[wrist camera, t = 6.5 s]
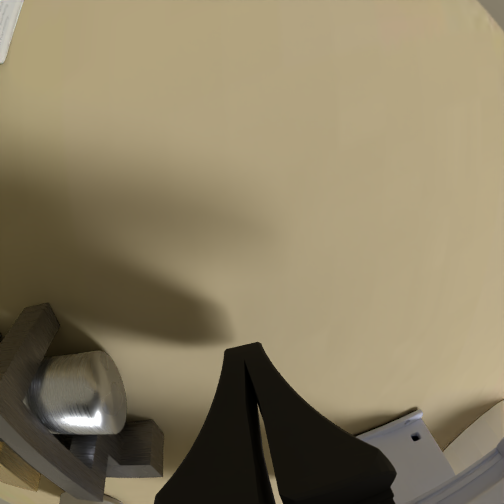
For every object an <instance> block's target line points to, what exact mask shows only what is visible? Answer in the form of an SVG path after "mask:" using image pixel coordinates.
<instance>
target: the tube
mask: <svg viewBox="0 0 504 504" xmlns="http://www.w3.org/2000/svg"><path fill="white" fill-rule="evenodd" d="M23 403H24V404H25V405H26V406H27V408H28V409H29V410H30V411H31V412H32V413H33V414H34V416H35V417H36V418H37V419H38V420H39V421H40V422H41V423H42V424H43V425H44V426H45V427H46V428H47V430H48V431H49V432H50V433H52V434H117V433H119V432H120V431H121V430H122V428H123V427H124V424H125V421H126V415H127V402H126V394H125V389H124V385H123V381H122V378H121V376H120V373H119V371H118V369H117V367H116V365H115V363H114V362H113V360H112V359H111V358H110V356H109V355H108V354H106V353H105V352H103V351H92V352H84V353H77V354H70V355H62V356H53V357H45V358H43V359H42V361H41V363H40V365H39V367H38V369H37V372H36V374H35V376H34V378H33V380H32V382H31V384H30V387H29V389H28V391H27V393H26V396H25V398H24V400H23Z"/></svg>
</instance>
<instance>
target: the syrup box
mask: <svg viewBox="0 0 504 504" xmlns="http://www.w3.org/2000/svg"><path fill="white" fill-rule="evenodd" d="M23 2H24V0H0V64H3V63H4V61H5V60H6V56H7V53H8V49H9V45H10V42H11V39H12V35H13V32H14V29H15V26H16V23H17V20H18V16H19V13H20V10H21V7H22V4H23Z"/></svg>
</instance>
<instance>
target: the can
mask: <svg viewBox="0 0 504 504" xmlns="http://www.w3.org/2000/svg"><path fill="white" fill-rule="evenodd" d="M59 504H122V503H121V502H120V501H118V500H116V499H114V498H111V497H109V496H106V495H104V497H103V502H95V501H87V500H79V499H76V498H74V497H73V496H71V495H70V494H69V493H67V492H64V493H62V494H61V496H60V502H59Z"/></svg>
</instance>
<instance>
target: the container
mask: <svg viewBox="0 0 504 504" xmlns="http://www.w3.org/2000/svg"><path fill="white" fill-rule="evenodd" d="M503 437H504V400H502V401H501V402H499V403H497V404H496V405H494V406H493V407H492V408H491V409H489V410H488V411H487V412H486V413H484V414H483V415H482V416H480V417H479V418H478V419H477V420H476V421H475V422H474V423H473V424H471V425H470V426H469V427H468V428H467V429H465V430H464V431H463V432H462V433H461V434H460V435H459V436H458V437H457V438H456V439H455V440H454V441H453V442H452V443H451V444H450V445H449V446H448V447H447V448H446V449H445V450H444V451H443V454H444V455H445V457H446V459H447V460H448V462H449V464H450V465H451V467H452V469H453V471H454V473H455V475H457V474H458V473H460V472H462V471H463V470H465V469H466V468H468V467H469V466H471V465H472V464H474V463H475V462H476V461H478V460H479V459H481V458H482V457H483V456H485V455H486V454H488V453H489V452H490V451H492V450H493V449H494V448H496V447H497V445H498V443H499V442H500V441H501V440H502V438H503Z"/></svg>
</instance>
